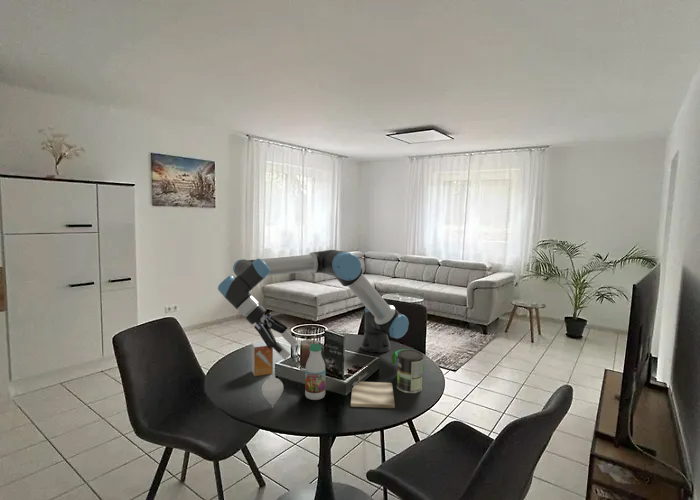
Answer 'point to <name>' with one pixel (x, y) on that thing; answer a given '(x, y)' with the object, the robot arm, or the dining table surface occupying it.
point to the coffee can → (409, 371)
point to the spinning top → (272, 389)
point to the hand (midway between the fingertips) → (291, 350)
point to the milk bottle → (315, 374)
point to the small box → (262, 359)
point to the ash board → (373, 395)
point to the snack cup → (397, 357)
